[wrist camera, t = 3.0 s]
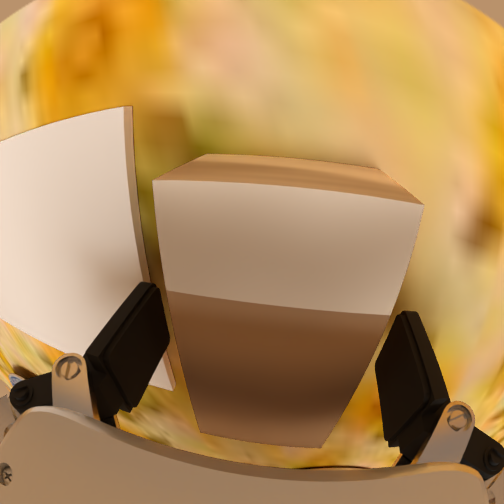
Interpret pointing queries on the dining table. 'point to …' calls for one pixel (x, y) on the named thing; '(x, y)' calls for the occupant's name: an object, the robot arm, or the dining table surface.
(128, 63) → the dining table surface
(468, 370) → the dining table surface
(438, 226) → the dining table surface
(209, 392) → the brown and beige box
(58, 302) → the white rectangular board
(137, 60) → the dining table surface
